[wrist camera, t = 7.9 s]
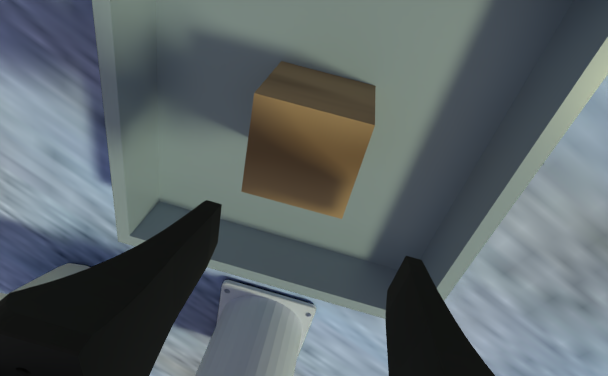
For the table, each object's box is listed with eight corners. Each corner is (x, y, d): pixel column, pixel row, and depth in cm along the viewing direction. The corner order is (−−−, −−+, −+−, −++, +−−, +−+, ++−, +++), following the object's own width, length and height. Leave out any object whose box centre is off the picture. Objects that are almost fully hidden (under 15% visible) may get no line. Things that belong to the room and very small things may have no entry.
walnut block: (348, 166, 21) (341, 219, 17) (267, 144, 21) (241, 191, 17) (375, 85, 18) (375, 125, 14) (281, 61, 18) (254, 93, 14)
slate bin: (416, 275, 26) (422, 329, 23) (154, 200, 26) (118, 241, 23) (610, -41, 15) (688, -38, 11) (144, -169, 15) (69, -208, 11)
